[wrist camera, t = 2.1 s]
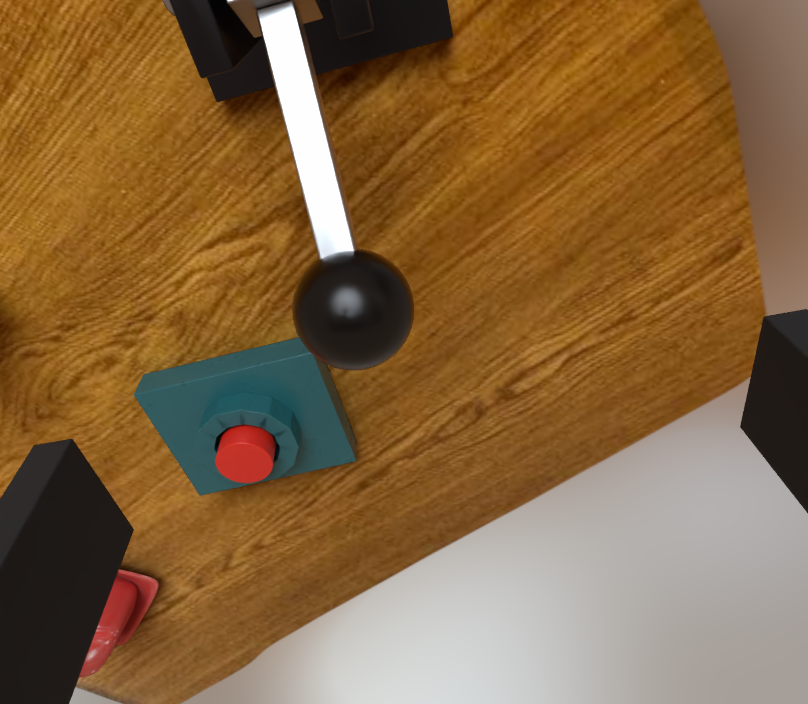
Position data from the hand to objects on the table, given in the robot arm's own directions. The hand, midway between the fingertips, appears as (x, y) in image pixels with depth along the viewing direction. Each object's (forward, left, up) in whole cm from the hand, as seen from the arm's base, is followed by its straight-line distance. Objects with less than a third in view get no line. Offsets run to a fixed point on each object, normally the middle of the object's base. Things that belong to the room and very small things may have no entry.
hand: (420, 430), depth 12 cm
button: (+14, +17, -21) cm, 30 cm away
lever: (+2, -3, -10) cm, 11 cm away
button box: (+14, +17, -24) cm, 33 cm away
